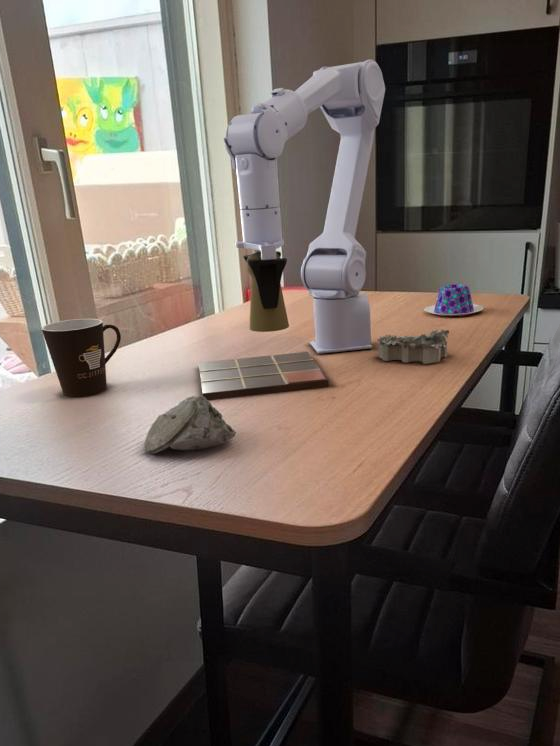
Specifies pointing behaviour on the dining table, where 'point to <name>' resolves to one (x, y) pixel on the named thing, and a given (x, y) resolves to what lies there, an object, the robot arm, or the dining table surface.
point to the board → (260, 375)
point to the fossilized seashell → (188, 427)
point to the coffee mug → (79, 355)
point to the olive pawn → (265, 317)
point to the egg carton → (414, 347)
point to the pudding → (454, 301)
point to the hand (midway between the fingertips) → (268, 304)
